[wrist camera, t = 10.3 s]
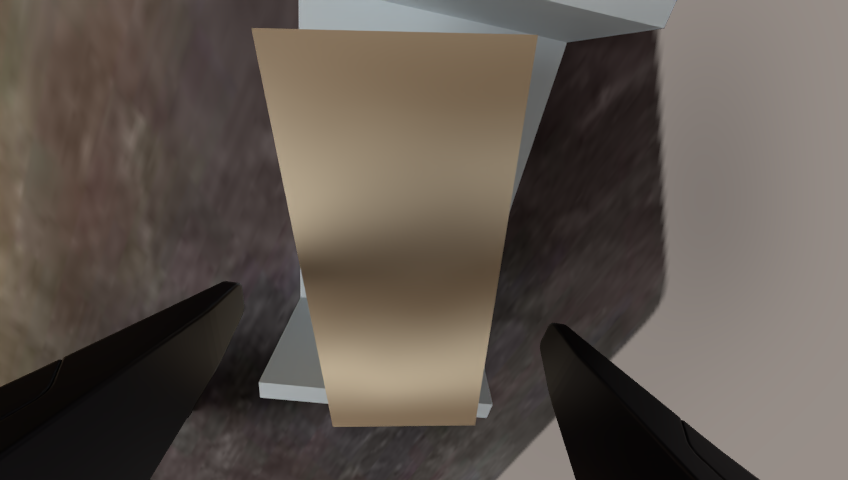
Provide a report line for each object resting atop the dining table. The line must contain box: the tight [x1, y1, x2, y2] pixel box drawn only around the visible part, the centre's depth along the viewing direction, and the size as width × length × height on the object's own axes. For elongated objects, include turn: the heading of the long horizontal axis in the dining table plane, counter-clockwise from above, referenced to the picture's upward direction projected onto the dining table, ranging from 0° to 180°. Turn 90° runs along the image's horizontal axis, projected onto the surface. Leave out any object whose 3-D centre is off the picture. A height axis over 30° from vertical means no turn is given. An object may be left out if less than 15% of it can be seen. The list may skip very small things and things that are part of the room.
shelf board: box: [252, 28, 538, 427], centre depth 12 cm, size 14×6×4 cm, turn 179°
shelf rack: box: [259, 0, 677, 418], centre depth 16 cm, size 19×12×8 cm, turn 170°
